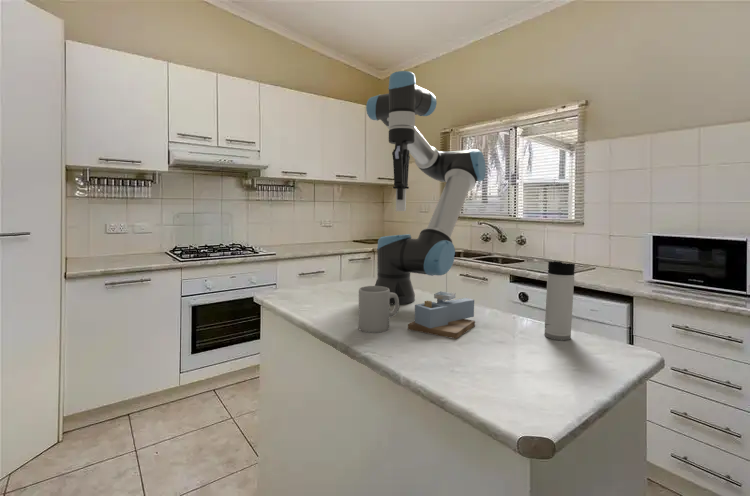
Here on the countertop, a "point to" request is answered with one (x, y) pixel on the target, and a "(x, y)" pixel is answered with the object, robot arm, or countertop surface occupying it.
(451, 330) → the board
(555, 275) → the travel mug
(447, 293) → the block
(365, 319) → the mug
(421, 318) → the link
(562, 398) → the countertop surface
